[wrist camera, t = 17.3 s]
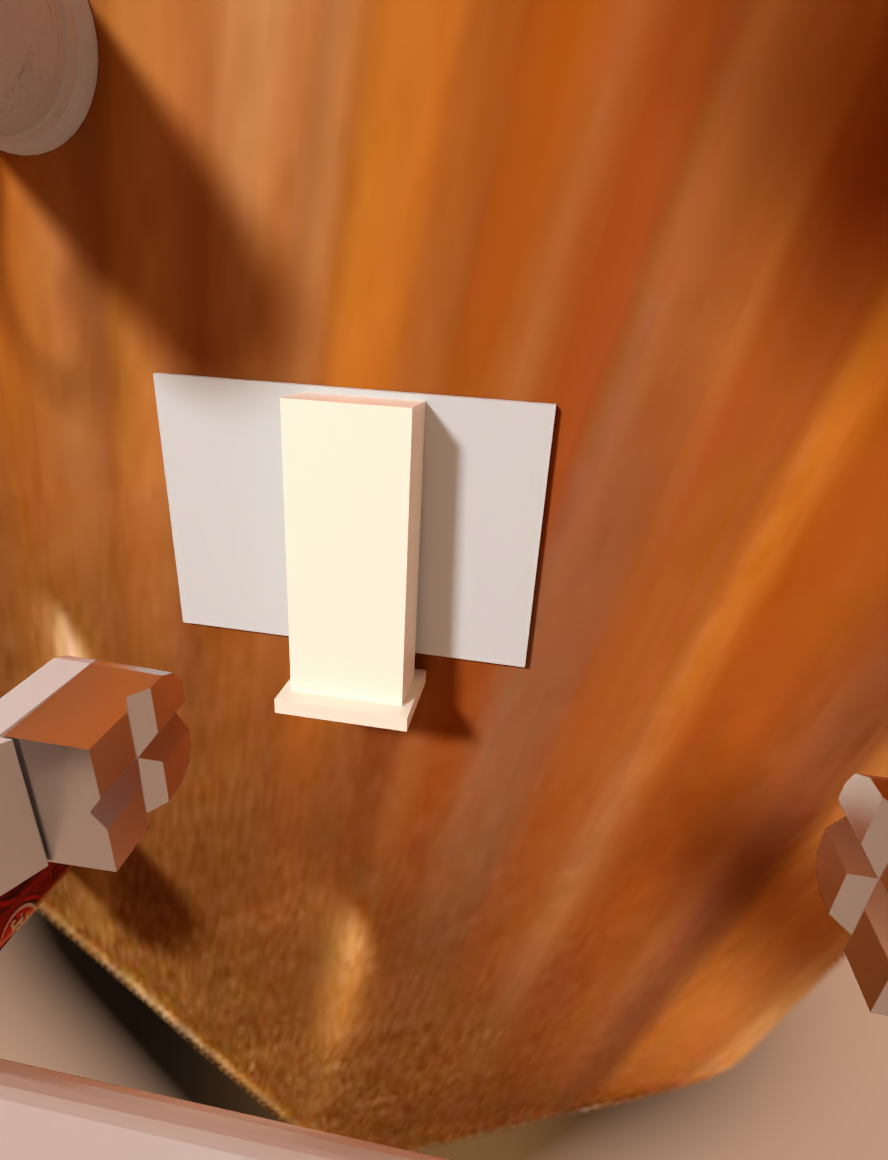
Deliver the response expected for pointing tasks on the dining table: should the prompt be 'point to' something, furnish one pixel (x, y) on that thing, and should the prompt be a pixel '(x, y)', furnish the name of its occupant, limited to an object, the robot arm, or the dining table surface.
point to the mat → (448, 510)
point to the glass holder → (45, 72)
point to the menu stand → (352, 556)
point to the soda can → (27, 898)
